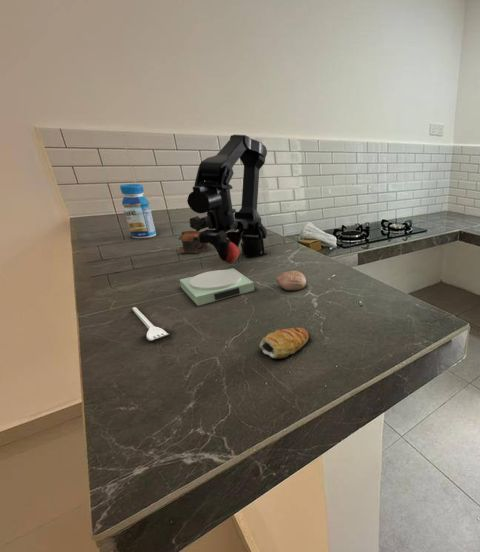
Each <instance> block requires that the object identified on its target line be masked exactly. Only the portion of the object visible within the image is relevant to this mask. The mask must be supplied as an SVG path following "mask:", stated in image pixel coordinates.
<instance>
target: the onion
mask: <svg viewBox="0 0 480 552" xmlns="http://www.w3.org/2000/svg"><path fill="white" fill-rule="evenodd" d="M227 239H228V238H227ZM217 255H218V257H219V259H220V260H222V259H221V257H220V256H219V254H218V253H217ZM239 255H240V249H239V246H238V247H237V246H236V245H235V244H234V243H232V242H230V244H229V250H228V256H227V260H226V261H224V262H225V263H227V264H233V263H234V262H235V261H236V260H237V259H238V258H239Z"/></svg>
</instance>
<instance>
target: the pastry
mask: <svg viewBox="0 0 480 552" xmlns="http://www.w3.org/2000/svg"><path fill="white" fill-rule="evenodd" d="M309 336H310V335H309V332H308V331H307V330H306V329H305V328H303V327H289V328H282V329H275V330H274V332H269V333H267V335H266V336H264V337H262V340H261V341H260V343H259V349H260V350H261V351H262V353H263V354H264V355H267V356H269V357H270V358H272V359H284V358H287V357H289V356H290V355H294V354H295V353H296V352H298V351H299V350H300V349H301V348H303V347H305V345H306V343H307V342H308V341H309Z"/></svg>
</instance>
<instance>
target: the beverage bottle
mask: <svg viewBox="0 0 480 552" xmlns="http://www.w3.org/2000/svg"><path fill="white" fill-rule="evenodd" d="M119 188H120V192H121V194H122V195H123V198H122V201H121V204H122V206H123V213H124V214H125V219H126V221H127V225H128V229H129V231H130V233H129V234H130V236H131V238H133V239H149V238H153V237H156V236H157V230H156V228H155V222H154V219H153V214H152V208H151V207H150V205H149V204H150V202H149V200H148V198H146V197H145V196H144V195H145V191H144V186H143V185H142V184H139V183H127V184H121V185H120V186H119Z"/></svg>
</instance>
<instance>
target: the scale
mask: <svg viewBox="0 0 480 552" xmlns="http://www.w3.org/2000/svg"><path fill="white" fill-rule="evenodd" d="M179 284H180V287H181V288H180V289H182V290H183V292H184V293H186V295H187V296H188V297H189V298H190V299H191V300H192V302H193V303H195V305H196V306H203V305H206V304H210V303H213V302H217V301H222V300H225V299H228V298H231V297H236V296H239V295H243V294H247V293H250V292H255V285H254V281H252V280H251V279H249V278H248V277H246V276H245V275H243V274H242V273H241V272H239V271H238V270H237V269H235V268H234V267H231V268H227V269H217V270H210V271H205V272H201V273H199V274H196V275H195V276H189V277H185V278H181V279H179Z"/></svg>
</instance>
